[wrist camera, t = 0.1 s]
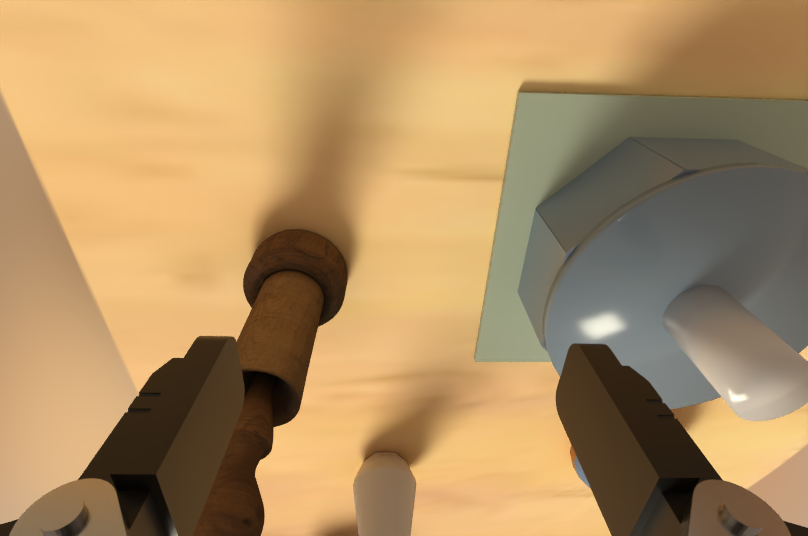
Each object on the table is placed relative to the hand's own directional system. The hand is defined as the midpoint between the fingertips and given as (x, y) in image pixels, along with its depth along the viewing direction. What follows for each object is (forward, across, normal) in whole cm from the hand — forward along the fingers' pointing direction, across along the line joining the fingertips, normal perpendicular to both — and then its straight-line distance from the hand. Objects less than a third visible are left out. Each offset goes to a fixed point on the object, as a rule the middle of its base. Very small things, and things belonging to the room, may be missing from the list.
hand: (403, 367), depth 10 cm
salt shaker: (+19, 0, +29) cm, 35 cm away
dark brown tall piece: (+18, +6, +8) cm, 20 cm away
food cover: (+17, -17, +5) cm, 25 cm away
